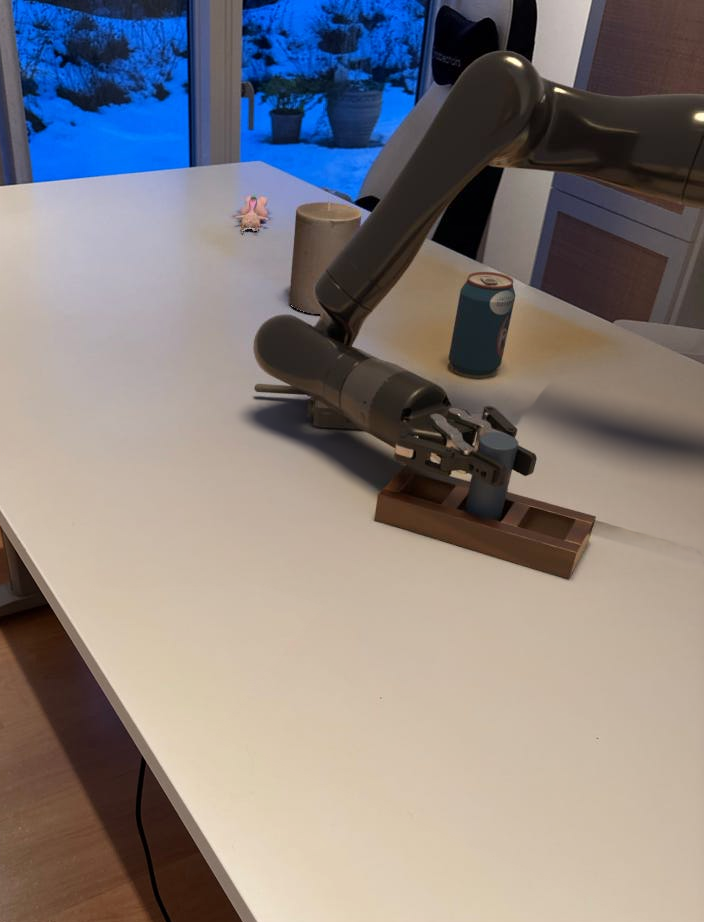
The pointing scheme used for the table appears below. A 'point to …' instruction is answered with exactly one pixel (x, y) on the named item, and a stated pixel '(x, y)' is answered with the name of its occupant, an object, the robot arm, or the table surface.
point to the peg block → (486, 521)
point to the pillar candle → (318, 247)
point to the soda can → (481, 324)
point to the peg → (484, 495)
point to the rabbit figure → (253, 212)
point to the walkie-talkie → (312, 407)
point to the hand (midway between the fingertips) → (517, 471)
